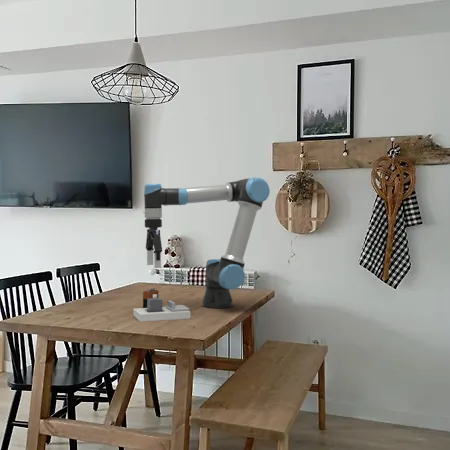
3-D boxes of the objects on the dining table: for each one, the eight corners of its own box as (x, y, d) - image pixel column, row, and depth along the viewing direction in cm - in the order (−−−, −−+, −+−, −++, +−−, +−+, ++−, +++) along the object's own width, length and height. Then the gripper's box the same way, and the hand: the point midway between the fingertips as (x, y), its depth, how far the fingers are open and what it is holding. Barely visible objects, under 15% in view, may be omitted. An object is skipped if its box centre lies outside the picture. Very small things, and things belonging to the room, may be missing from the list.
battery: (158, 309, 244) (158, 288, 243) (150, 311, 238) (150, 290, 237) (151, 308, 246) (151, 287, 246) (142, 310, 240) (142, 289, 240)
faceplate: (181, 312, 237) (181, 306, 237) (190, 318, 224) (190, 311, 223) (133, 315, 229) (133, 308, 229) (139, 321, 216) (139, 314, 216)
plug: (159, 316, 228) (159, 293, 228) (162, 318, 224) (162, 295, 224) (147, 316, 226) (147, 294, 226) (149, 318, 222) (150, 295, 222)
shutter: (182, 306, 235) (183, 299, 235) (189, 310, 225) (189, 302, 225) (165, 307, 232) (165, 299, 232) (171, 311, 223) (171, 303, 222)
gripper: (138, 218, 239) (139, 264, 240) (151, 219, 216) (152, 269, 217) (154, 218, 242) (155, 263, 243) (169, 218, 219) (169, 268, 219)
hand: (153, 266), depth 230 cm, fingers open, 13 cm apart
